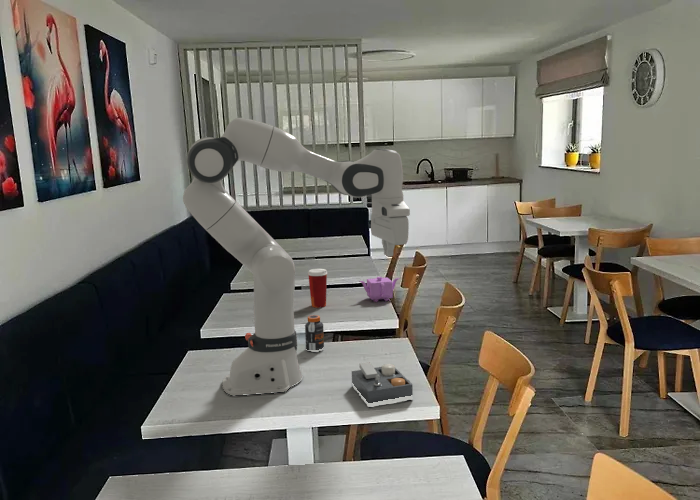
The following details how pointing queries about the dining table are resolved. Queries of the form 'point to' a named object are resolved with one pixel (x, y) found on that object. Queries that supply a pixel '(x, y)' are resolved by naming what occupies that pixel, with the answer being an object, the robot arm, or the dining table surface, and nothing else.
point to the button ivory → (388, 370)
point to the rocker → (368, 370)
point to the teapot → (379, 288)
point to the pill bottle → (314, 333)
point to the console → (380, 386)
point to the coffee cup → (318, 287)
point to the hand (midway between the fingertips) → (388, 255)
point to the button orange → (397, 381)
